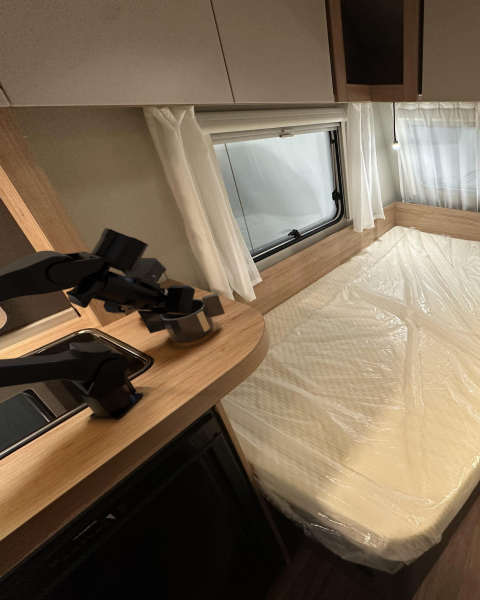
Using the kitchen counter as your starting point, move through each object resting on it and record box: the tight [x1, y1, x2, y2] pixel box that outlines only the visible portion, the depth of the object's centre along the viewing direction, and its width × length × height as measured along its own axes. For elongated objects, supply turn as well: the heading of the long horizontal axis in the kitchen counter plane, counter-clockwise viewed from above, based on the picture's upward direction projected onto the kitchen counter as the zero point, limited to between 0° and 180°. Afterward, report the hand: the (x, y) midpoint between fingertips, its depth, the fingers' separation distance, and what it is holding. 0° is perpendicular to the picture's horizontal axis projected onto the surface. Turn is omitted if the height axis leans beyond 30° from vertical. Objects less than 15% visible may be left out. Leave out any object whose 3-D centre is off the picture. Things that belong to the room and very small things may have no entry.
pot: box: [139, 292, 226, 344], centre depth 84 cm, size 11×18×9 cm, turn 118°
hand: (179, 308), depth 77 cm, fingers closed
